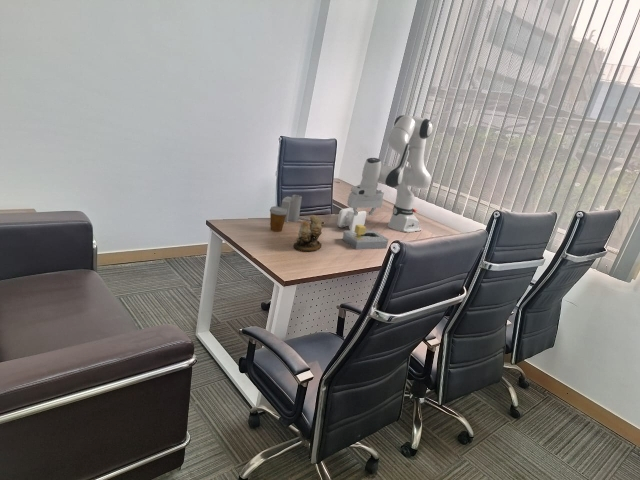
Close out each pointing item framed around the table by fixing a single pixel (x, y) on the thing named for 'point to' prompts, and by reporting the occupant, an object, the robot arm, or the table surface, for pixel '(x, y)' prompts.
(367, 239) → the keyhole plate
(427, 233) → the table surface
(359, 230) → the peg
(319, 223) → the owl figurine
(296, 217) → the electronic device
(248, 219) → the table surface
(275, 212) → the disposable coffee cup
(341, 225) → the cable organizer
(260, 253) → the table surface
